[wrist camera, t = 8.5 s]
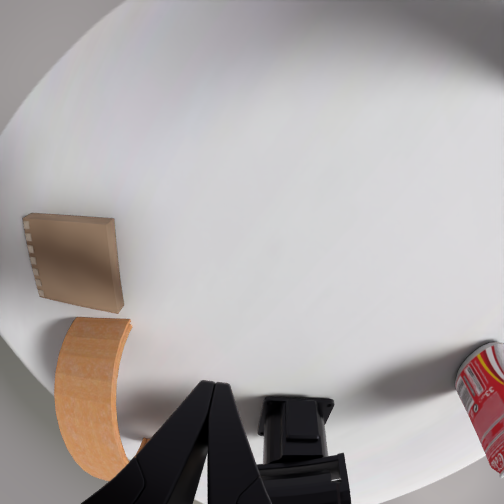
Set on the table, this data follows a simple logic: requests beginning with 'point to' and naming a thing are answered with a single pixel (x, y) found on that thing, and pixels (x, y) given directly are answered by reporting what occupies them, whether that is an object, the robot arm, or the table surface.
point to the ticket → (75, 260)
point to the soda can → (485, 399)
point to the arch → (92, 394)
